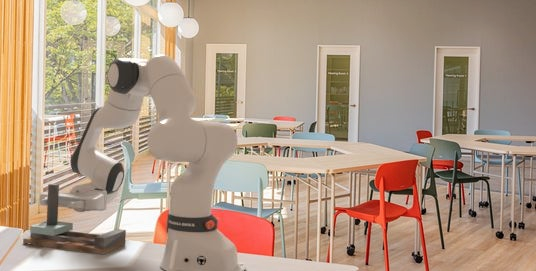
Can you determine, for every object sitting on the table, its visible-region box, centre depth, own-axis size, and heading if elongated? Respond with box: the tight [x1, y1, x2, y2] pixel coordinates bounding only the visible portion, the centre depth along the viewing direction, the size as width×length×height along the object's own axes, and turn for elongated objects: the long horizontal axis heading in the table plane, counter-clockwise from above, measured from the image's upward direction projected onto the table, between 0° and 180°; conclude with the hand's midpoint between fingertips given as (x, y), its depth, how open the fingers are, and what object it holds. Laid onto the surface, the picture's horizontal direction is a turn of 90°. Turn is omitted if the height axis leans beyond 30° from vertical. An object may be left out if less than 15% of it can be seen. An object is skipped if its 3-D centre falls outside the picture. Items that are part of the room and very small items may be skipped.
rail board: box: [22, 228, 127, 255], centre depth 159 cm, size 26×12×4 cm, turn 76°
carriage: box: [29, 183, 74, 236], centre depth 161 cm, size 8×9×14 cm
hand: (56, 204), depth 162 cm, fingers open, 8 cm apart
